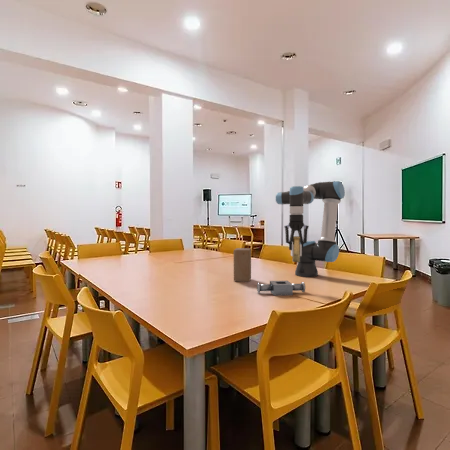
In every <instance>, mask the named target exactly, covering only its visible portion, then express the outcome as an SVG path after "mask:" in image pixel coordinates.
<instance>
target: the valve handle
mask: <svg viewBox="0 0 450 450" xmlns="http://www.w3.org/2000/svg"><path fill="white" fill-rule="evenodd" d="M292 244H293V256H292V260H291V261H292V263H298V262H300V237H299V235H298V236H295V235H294V237H293V242H292Z"/></svg>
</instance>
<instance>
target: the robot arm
mask: <svg viewBox="0 0 450 450" xmlns="http://www.w3.org/2000/svg"><path fill="white" fill-rule="evenodd" d="M345 195H346V194H345V187H344V184H343V182H342V181H339V180H337V181H336V180H333V181H323V182H321V181H320V182H315V183H312V184H309V185H306V186H305V185H304V187H303V186H300V185H297V186H295V185H294V186H291V187H289V190H288V191H280V192H277V193H276V194H275V202H276V204H278V205H282V206H283V205H289V221H288V224H287V225H284V227H283V228H284V231H285V243H287V244H288V249H289V251H290V256H291V257H293V237H294V236H295V232H297V234H298V236H299V237H300V262H297V265H296V268H295V270H294V271H295V273H294V275H295V276H298V277H303V278H304V277H306V278H311V277H312V278H313V277H314V276H315V277H318V276H317V275H319V271H318V268H317V265H316V262H317V261H318V262H325V263H334V262H336V260H337V259H338V257H339V255H340V254H339V253H340V246H339V245H338V244H337V241H336V239H335V235H336V225H337V216H338V206H339V204H340V203H341V200H342V199H344V197H346V196H345ZM314 200H322V203H324V204H323V206H324V207H323V212H322V213H323V214H322V222H321V223H322V224H321V234H320V238H319V239H317V241H315V240H310V241H309V240H308V229H309V225H306V224H305V223H304V215H303V214H304V205H310V204H312V203H313V202H314ZM289 228H290V229H291V230H290V231H289ZM302 229H303V233H302ZM289 234H290V235H289ZM307 240H308V241H307ZM316 242H317V243H316Z"/></svg>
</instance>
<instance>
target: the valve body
mask: <svg viewBox="0 0 450 450" xmlns="http://www.w3.org/2000/svg"><path fill="white" fill-rule="evenodd" d="M256 289H257V291H256V292H257V293H258V294H259V293H261V292H270V293H271V294H272V295H273V296H274V297H277V296H282V297H283V296H293V294H294V293H293V292H295V291H298V292H299V291H300V292H302V293H305V292H306V283H305V282H304V281H301V282H300V283H292V282H290V281H289V280H269V283H268V284H267V283H264V284H263V283H262V284H260V282H257V285H256Z"/></svg>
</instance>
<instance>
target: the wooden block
mask: <svg viewBox="0 0 450 450" xmlns="http://www.w3.org/2000/svg"><path fill="white" fill-rule="evenodd" d="M251 279H252V248H249V247H248V248H246V247H244V248H243V247H237V248H235V249H233V282H239V283H241V282H242V283H245V282H246V283H249V282H250V281H251Z"/></svg>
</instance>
